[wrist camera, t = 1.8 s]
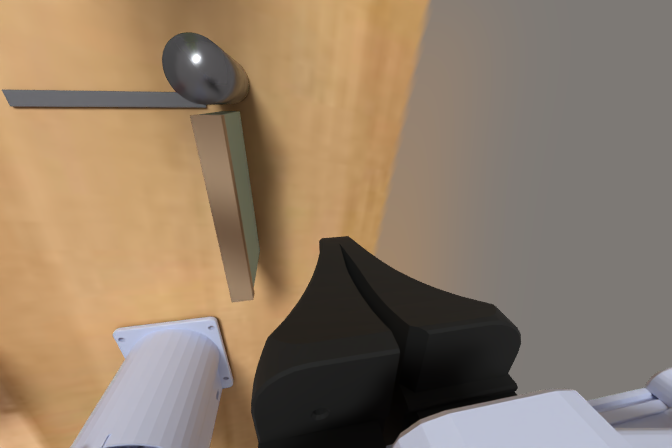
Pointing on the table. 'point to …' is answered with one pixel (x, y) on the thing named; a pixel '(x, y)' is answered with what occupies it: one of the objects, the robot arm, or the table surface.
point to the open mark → (96, 99)
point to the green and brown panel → (229, 197)
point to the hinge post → (203, 71)
